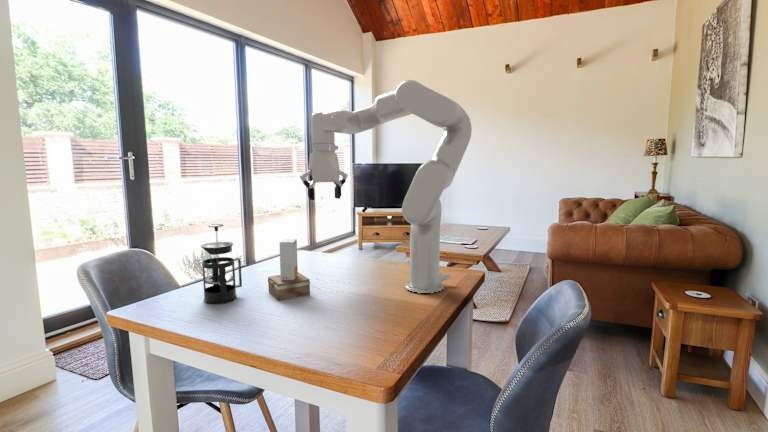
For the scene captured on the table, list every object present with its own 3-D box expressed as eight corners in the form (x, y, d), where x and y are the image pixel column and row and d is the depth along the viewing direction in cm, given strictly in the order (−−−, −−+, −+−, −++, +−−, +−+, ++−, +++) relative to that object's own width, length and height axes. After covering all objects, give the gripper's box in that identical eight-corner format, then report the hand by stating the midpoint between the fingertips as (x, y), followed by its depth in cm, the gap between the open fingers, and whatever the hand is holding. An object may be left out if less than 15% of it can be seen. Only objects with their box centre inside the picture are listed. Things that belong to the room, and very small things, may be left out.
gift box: (298, 286, 141) (298, 272, 141) (310, 294, 133) (309, 279, 132) (266, 292, 136) (265, 276, 135) (276, 301, 127) (275, 284, 127)
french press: (205, 306, 123) (200, 228, 120) (198, 298, 130) (193, 224, 127) (246, 299, 129) (242, 224, 126) (237, 291, 137) (233, 220, 134)
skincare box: (294, 280, 131) (292, 242, 129) (280, 280, 131) (278, 242, 129) (298, 275, 137) (297, 238, 135) (285, 275, 137) (283, 238, 135)
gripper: (341, 149, 153) (342, 197, 155) (295, 149, 144) (297, 199, 146) (351, 148, 146) (352, 198, 148) (303, 148, 137) (305, 201, 139)
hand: (324, 199), depth 147 cm, fingers open, 9 cm apart
